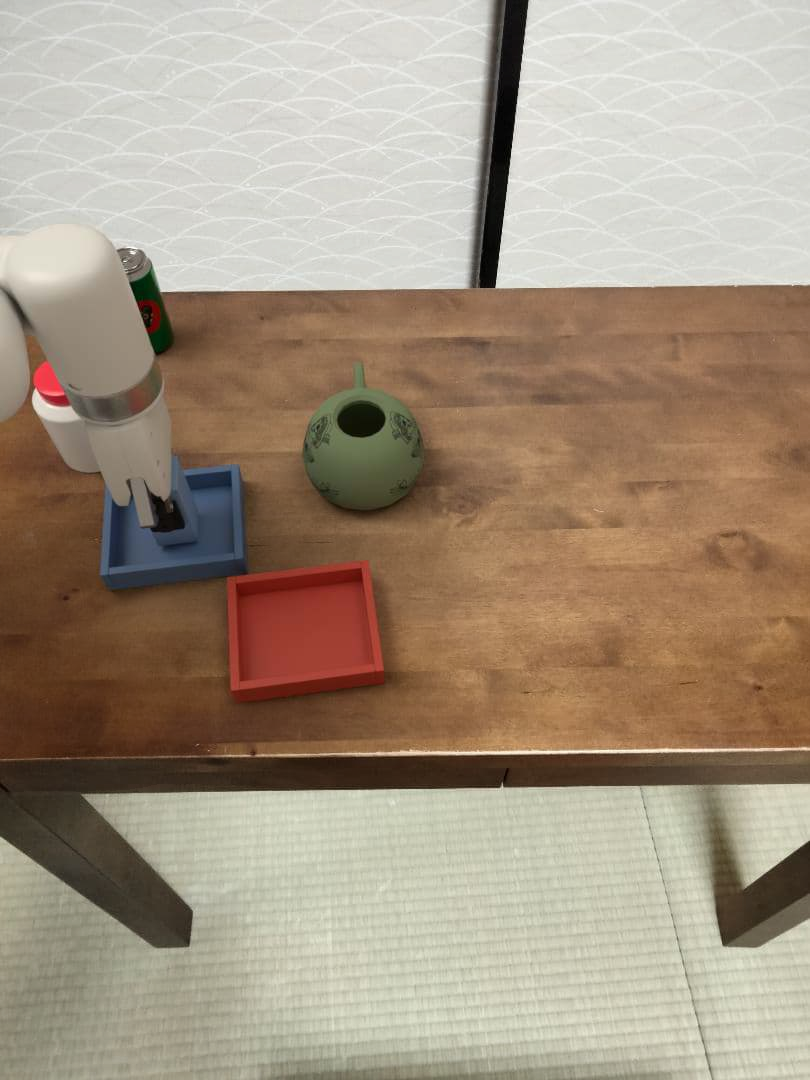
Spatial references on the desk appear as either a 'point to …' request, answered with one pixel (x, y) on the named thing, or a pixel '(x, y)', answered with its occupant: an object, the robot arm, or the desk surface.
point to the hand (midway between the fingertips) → (168, 507)
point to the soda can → (147, 297)
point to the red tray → (303, 631)
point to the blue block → (186, 507)
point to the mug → (363, 447)
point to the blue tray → (215, 554)
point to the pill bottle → (62, 421)
